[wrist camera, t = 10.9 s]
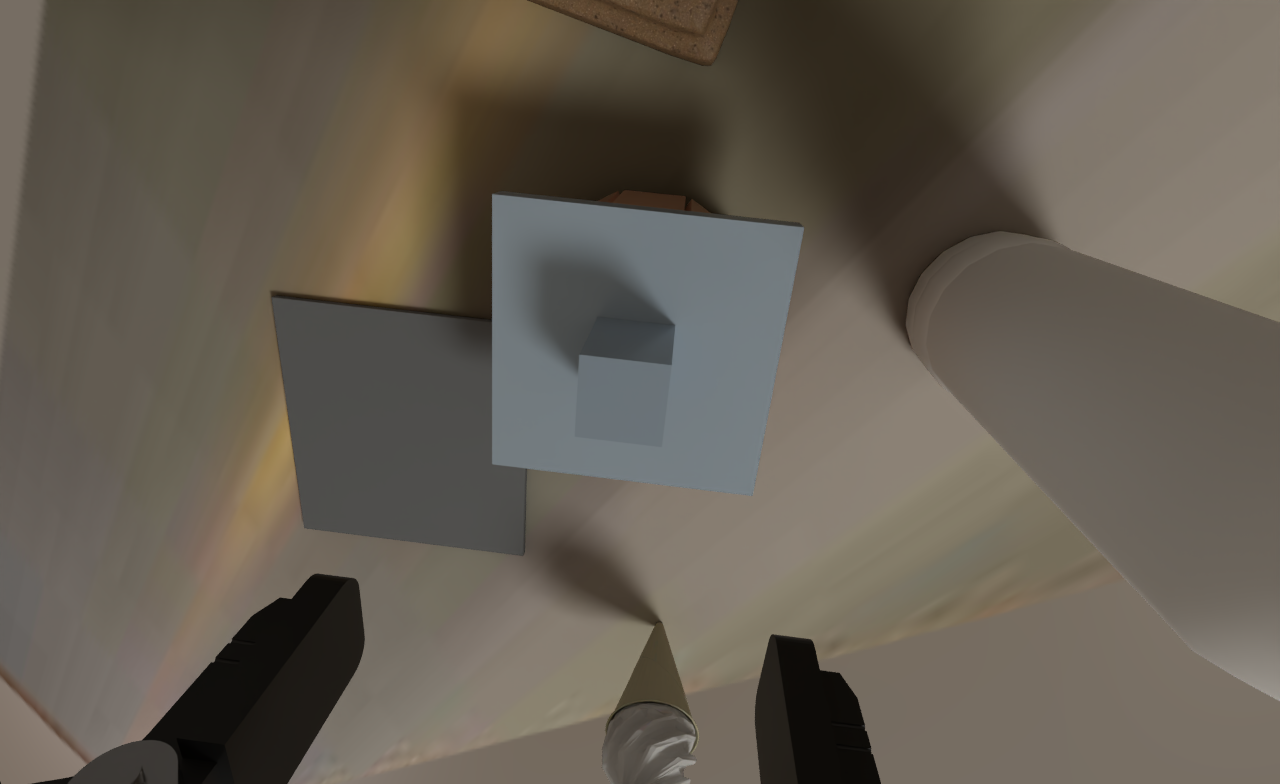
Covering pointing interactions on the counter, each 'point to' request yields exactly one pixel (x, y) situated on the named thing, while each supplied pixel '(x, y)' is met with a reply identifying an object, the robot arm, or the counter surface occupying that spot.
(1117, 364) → the bottle
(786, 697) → the robot arm
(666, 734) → the ice cream cone
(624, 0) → the candle holder
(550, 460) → the lid
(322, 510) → the mat
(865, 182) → the counter surface
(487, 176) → the counter surface
